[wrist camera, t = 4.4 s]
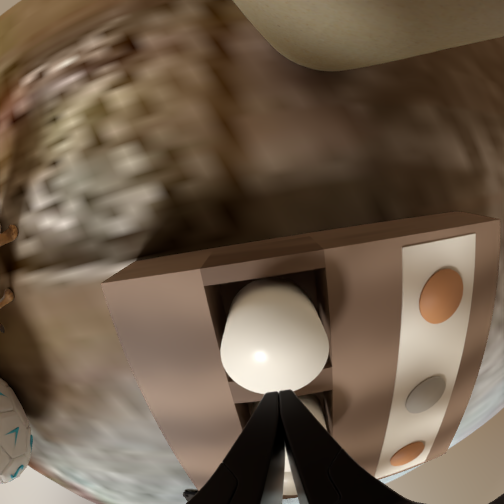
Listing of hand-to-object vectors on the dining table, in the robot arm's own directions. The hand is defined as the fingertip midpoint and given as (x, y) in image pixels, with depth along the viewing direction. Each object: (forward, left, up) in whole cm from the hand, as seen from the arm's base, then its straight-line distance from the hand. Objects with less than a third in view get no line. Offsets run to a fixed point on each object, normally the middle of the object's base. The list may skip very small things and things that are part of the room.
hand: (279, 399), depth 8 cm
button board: (-7, -3, -9) cm, 12 cm away
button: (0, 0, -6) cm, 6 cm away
